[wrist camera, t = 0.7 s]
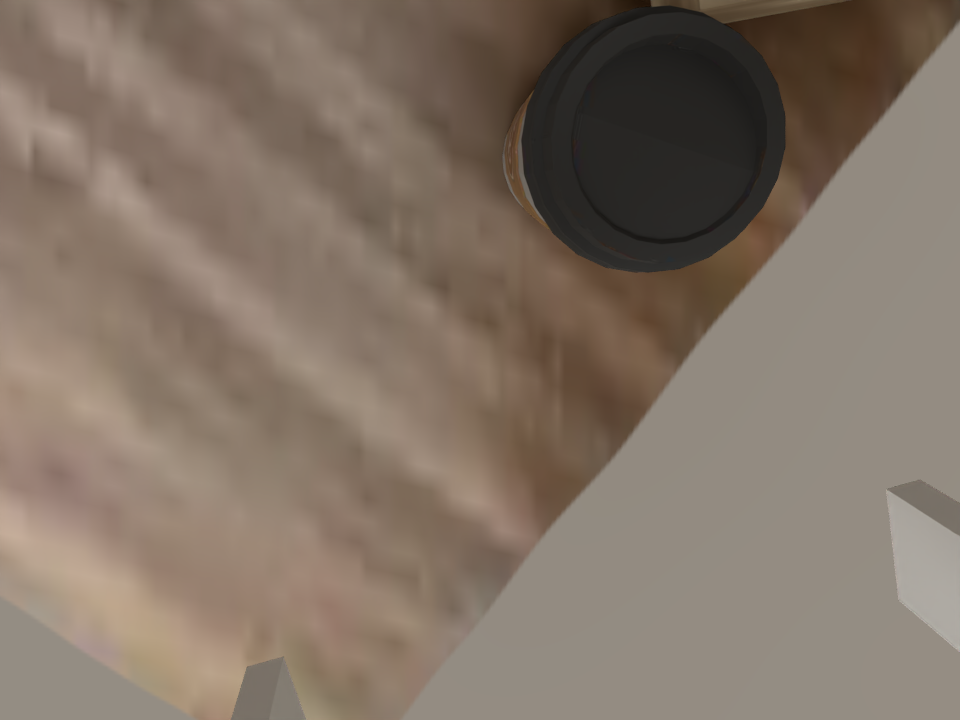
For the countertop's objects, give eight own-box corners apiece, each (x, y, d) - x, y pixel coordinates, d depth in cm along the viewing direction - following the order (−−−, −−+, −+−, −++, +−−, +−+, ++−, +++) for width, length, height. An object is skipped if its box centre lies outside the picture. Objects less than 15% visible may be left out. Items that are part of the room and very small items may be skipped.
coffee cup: (510, 43, 36) (585, -52, 22) (671, 100, 37) (844, 47, 23) (459, 215, 38) (497, 236, 23) (616, 264, 39) (745, 312, 24)
